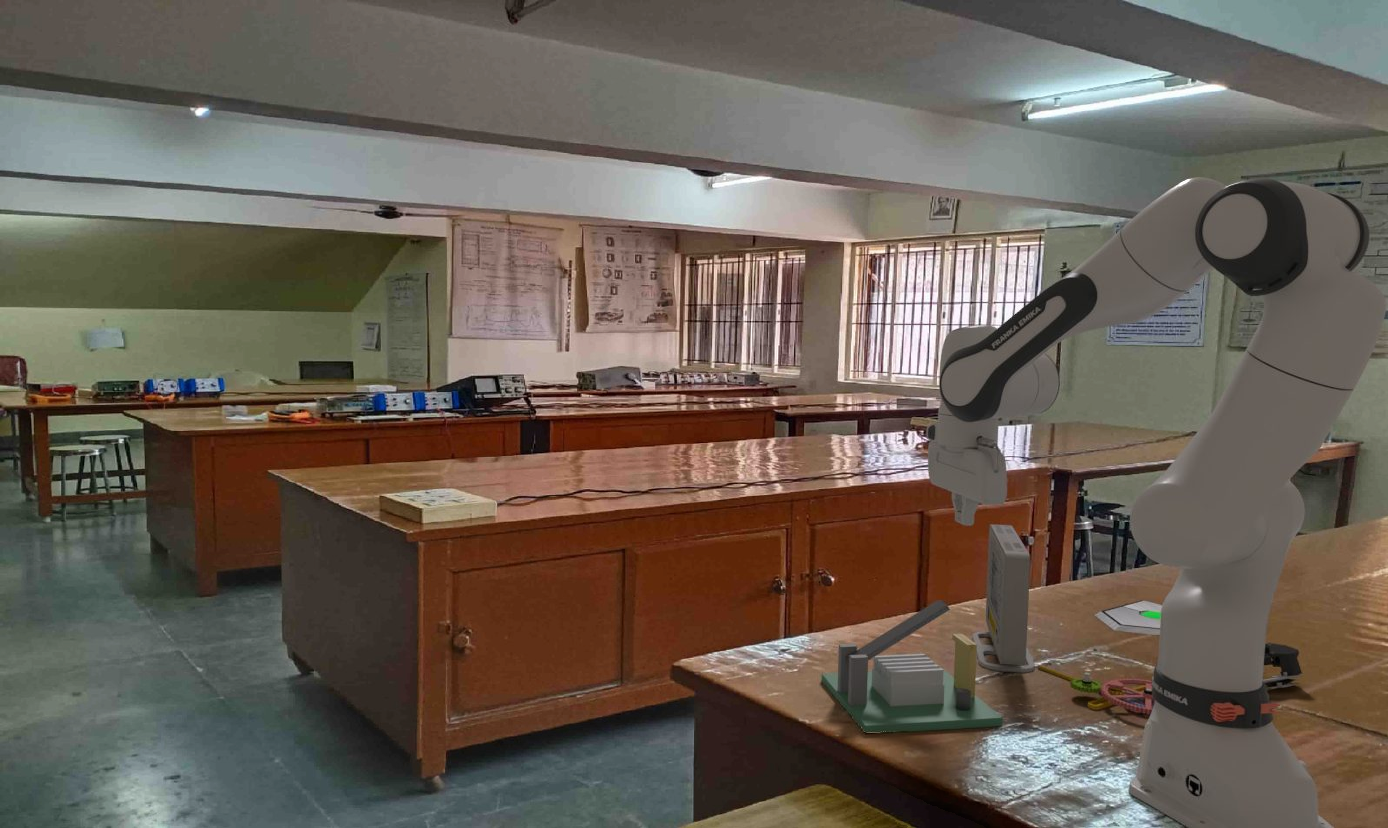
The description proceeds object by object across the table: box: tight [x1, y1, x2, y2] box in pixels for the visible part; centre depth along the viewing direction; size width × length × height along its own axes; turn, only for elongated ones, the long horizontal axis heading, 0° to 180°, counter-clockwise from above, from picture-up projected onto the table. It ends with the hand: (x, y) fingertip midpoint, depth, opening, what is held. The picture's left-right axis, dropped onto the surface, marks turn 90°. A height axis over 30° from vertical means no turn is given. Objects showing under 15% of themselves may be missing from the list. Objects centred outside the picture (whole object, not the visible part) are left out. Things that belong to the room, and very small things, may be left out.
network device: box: [972, 524, 1036, 673], centre depth 164 cm, size 26×9×20 cm, turn 168°
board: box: [821, 633, 1003, 733], centre depth 142 cm, size 20×20×9 cm
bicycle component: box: [1263, 642, 1303, 691], centre depth 152 cm, size 12×7×15 cm
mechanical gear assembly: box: [1037, 664, 1155, 715], centre depth 145 cm, size 30×4×15 cm
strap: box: [846, 599, 951, 662], centre depth 141 cm, size 3×16×1 cm
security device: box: [1094, 599, 1163, 636], centre depth 184 cm, size 17×22×2 cm
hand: (964, 523), depth 147 cm, fingers closed
